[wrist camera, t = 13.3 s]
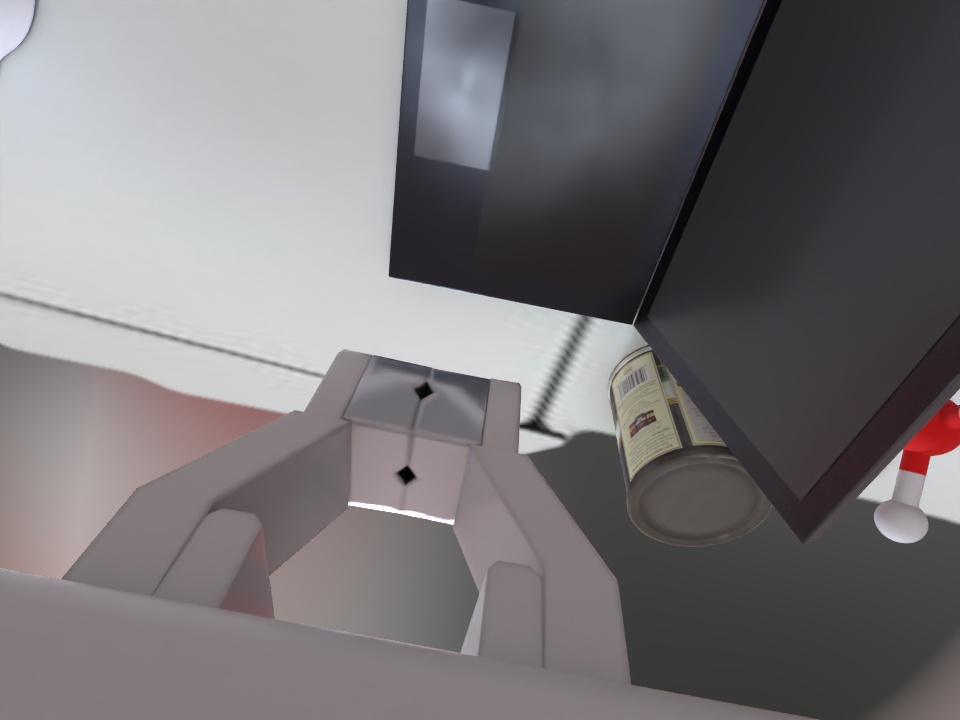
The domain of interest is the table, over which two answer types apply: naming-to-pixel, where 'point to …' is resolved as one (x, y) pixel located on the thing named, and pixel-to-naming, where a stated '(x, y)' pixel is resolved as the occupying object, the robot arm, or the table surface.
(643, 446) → the coffee can
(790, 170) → the laptop screen
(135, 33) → the table surface
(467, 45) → the laptop
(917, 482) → the molecular model
